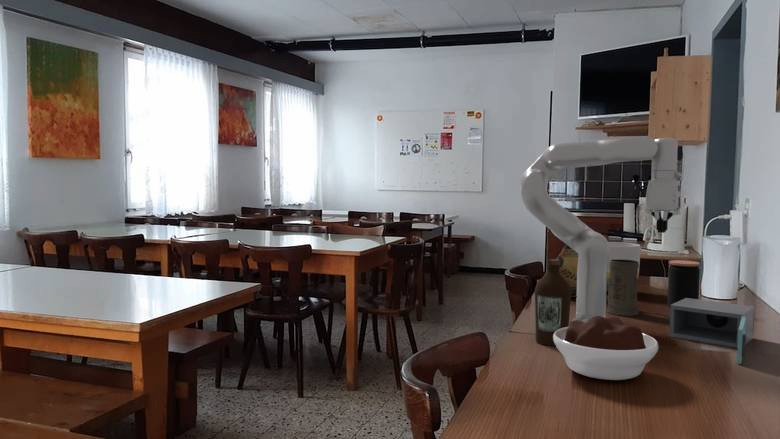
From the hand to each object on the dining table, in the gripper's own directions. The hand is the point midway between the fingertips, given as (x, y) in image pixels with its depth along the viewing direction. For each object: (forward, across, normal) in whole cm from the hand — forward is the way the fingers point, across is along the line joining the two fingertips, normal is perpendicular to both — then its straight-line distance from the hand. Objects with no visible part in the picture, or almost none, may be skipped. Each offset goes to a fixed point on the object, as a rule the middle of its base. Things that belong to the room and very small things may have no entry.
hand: (661, 232), depth 199 cm
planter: (+32, +36, -54) cm, 72 cm away
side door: (+32, -28, +17) cm, 46 cm away
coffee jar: (+32, +4, -40) cm, 52 cm away
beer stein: (+32, +18, -18) cm, 41 cm away
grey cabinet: (+32, -16, 0) cm, 36 cm away
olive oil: (+32, +18, +40) cm, 54 cm away
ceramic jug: (+32, +48, -33) cm, 67 cm away
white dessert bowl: (+32, -6, +59) cm, 68 cm away
